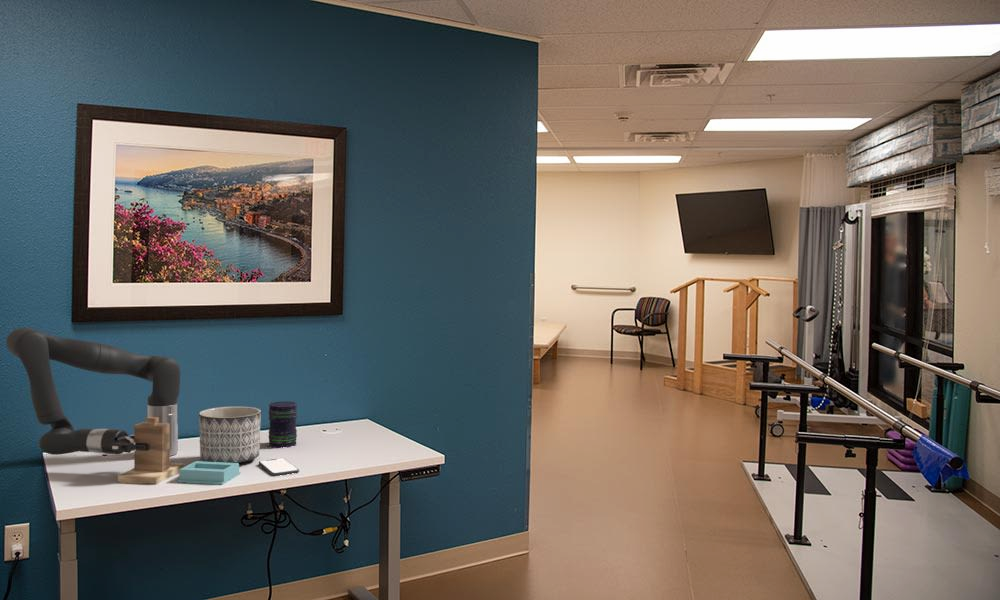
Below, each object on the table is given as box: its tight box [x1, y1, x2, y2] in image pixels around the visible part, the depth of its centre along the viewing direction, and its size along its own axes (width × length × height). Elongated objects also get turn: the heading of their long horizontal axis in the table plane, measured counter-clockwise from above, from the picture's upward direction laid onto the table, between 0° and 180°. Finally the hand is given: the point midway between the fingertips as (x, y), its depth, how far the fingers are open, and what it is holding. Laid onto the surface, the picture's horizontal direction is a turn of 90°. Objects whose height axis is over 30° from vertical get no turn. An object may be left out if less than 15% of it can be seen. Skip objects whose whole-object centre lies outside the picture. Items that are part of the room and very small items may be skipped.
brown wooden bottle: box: [133, 416, 170, 472], centre depth 235 cm, size 4×9×16 cm, turn 84°
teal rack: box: [177, 460, 241, 486], centre depth 234 cm, size 12×14×4 cm
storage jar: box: [268, 401, 298, 449], centre depth 278 cm, size 10×10×15 cm
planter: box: [198, 406, 262, 464], centre depth 254 cm, size 19×19×16 cm
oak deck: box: [117, 462, 185, 485], centre depth 235 cm, size 16×12×2 cm
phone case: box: [258, 457, 300, 477], centre depth 247 cm, size 9×2×16 cm
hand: (157, 443), depth 235 cm, fingers open, 8 cm apart
